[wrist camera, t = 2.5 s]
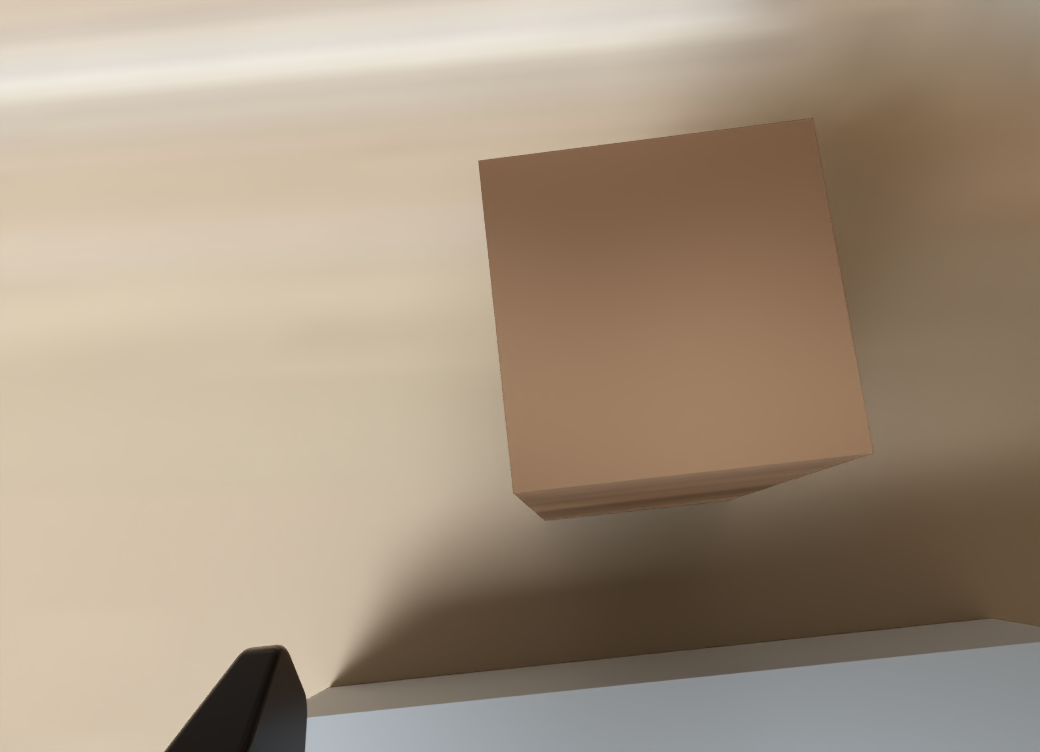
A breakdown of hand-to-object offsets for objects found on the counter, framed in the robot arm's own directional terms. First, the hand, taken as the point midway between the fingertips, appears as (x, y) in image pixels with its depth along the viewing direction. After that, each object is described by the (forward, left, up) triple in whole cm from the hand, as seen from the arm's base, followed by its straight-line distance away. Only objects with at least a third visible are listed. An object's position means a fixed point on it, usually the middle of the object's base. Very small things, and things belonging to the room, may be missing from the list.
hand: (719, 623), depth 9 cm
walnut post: (+2, +3, -10) cm, 11 cm away
